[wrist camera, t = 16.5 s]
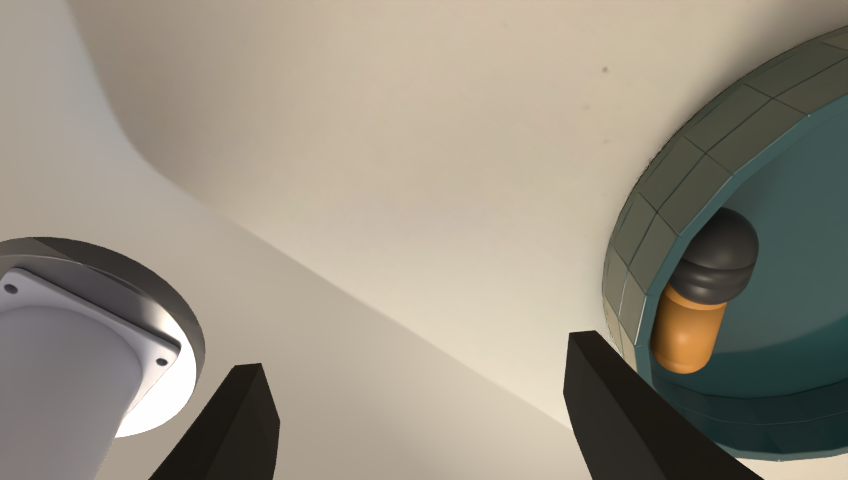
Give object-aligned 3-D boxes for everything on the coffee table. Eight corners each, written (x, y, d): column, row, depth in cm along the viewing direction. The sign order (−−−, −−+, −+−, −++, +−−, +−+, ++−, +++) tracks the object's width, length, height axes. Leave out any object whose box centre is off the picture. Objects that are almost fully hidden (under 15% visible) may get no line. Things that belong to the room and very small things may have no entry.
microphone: (659, 201, 22) (715, 240, 19) (726, 186, 22) (790, 223, 20) (629, 354, 26) (671, 403, 24) (686, 339, 27) (733, 385, 24)
